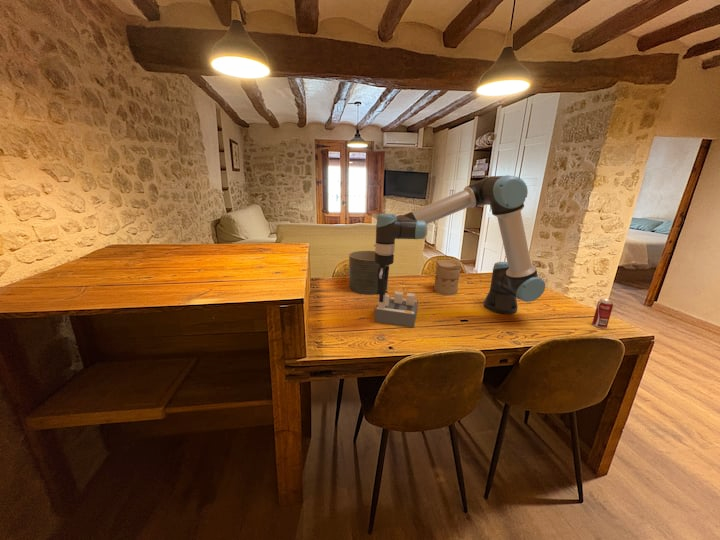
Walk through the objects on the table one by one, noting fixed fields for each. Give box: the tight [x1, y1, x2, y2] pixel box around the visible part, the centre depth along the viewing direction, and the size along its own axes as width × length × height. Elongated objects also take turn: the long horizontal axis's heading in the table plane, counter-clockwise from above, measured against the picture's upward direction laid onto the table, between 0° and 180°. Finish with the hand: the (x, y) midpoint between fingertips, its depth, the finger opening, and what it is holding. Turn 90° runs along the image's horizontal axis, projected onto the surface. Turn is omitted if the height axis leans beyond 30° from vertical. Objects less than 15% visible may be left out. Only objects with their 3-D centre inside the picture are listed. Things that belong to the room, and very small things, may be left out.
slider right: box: [405, 292, 416, 306], centre depth 133 cm, size 4×4×4 cm
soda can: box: [591, 298, 614, 329], centre depth 131 cm, size 5×5×12 cm
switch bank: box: [374, 296, 419, 328], centre depth 134 cm, size 17×16×6 cm
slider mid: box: [393, 290, 404, 304], centre depth 135 cm, size 4×4×4 cm
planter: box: [348, 250, 390, 296], centre depth 165 cm, size 22×22×20 cm
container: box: [433, 258, 462, 296], centre depth 163 cm, size 13×13×18 cm
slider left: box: [385, 293, 391, 307], centre depth 132 cm, size 4×4×4 cm
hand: (381, 308), depth 125 cm, fingers closed
